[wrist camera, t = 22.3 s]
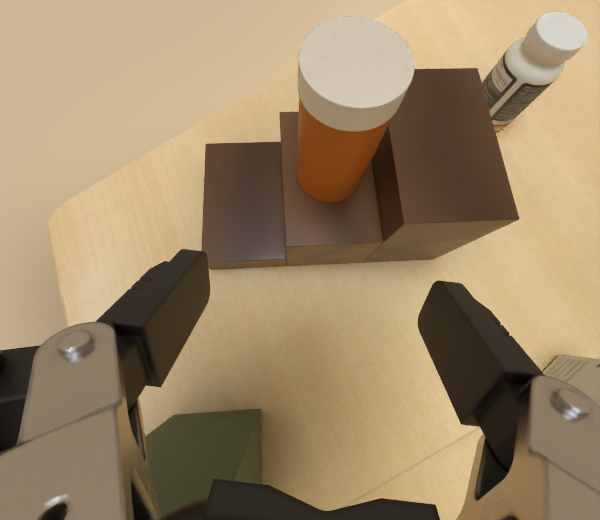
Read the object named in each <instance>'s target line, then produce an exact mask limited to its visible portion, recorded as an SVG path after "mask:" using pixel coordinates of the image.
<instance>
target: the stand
mask: <svg viewBox="0 0 600 520" xmlns="http://www.w3.org/2000/svg"><path fill="white" fill-rule="evenodd" d="M145 438H146V445H147V451H148V457H149V463H150V469H151V473H152V477H153V481H154V485H155V489H156V493H157V498H158V503H159V508H160V514H161V517H162V516H163V515H165V514H166V513H168V512H169V511H171V510H173V509H175V508H177V507H179V506H181V505H182V504H184V503H187V502H189V501H192V500H195V499H197V498H200V497H204V496H208V495H209V493H210V489H211V486H212V482H213V479H221V480H229V481H238V482H246V483H255V484H262V450H261V409H256V410H241V411H227V412H213V413H199V414H184V415H173V416H172V417H171V418H169V419H168V420H167V421H165V422H164V423H163V424H161V425H160V426H159V427H157V428H156V429H155V430H154V431H152V432H151V433H150V434H148V435H147V436H146V437H145Z"/></svg>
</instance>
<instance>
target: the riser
mask: <svg viewBox="0 0 600 520" xmlns="http://www.w3.org/2000/svg"><path fill="white" fill-rule="evenodd" d="M298 121H299V112H280V132H281V142H257V143H218V144H206V151H205V178H204V204H203V230H202V251H203V252H206V254H207V258H208V268H210V269H231V268H253V267H274V266H296V265H317V264H339V263H360V262H382V261H404V260H425V259H435V258H437V257H439V256H442V255H444V254H446V253H448V252H450V251H452V250H454V249H457V248H459V247H461V246H463V245H465V244H467V243H469V242H472V241H474V240H476V239H478V238H480V237H482V236H484V235H487V234H489V233H491V232H493V231H495V230H497V229H499V228H501V227H504V226H506V225H508V224H510V223H512V222H514V221H516V220H519V216H518V213H517V209H516V205H515V202H514V198H513V195H512V191H511V187H510V184H509V180H508V176H507V173H506V169H505V166H504V162H503V158H502V155H501V151H500V148H499V144H498V140H497V137H496V133H495V130H494V126H493V122H492V119H491V115H490V112H489V108H488V104H487V101H486V97H485V93H484V90H483V86H482V83H481V79H480V75H479V72H478V69H477V68H462V69H414V75H413V79H412V81H411V84H410V86H409V88H408V90H407V92H406V94H405V96H404V98H403V100H402V102H401V104H400V106H399V108H398V110H397V111H396V113H395V114H394V115H393V116H392V118H391V120H390V122H389V125H388V127H387V129H386V131H385V133H384V135H383V137H382V139H381V141H380V143H379V145H378V147H377V149H376V151H375V154H374V156H373V158H372V160H371V162H370V164H369V166H368V168H367V170H366V172H365V174H364V176H363V178H362V181H361V183H360V185H359V187H358V188H357V190H356V191H355V193H354V194H352V195H351V196H350V197H349V198H347V199H345V200H342V201H339V202H333V203H327V202H322V201H318V200H316V199H314V198H312V197H310V196H309V195H308V194H307V193H306V192H305V191H304V190H303V189H302V188H301V186H300V184H299V182H298V178H297V151H298Z"/></svg>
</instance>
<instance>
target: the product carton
mask: <svg viewBox="0 0 600 520" xmlns="http://www.w3.org/2000/svg"><path fill="white" fill-rule="evenodd" d="M542 373H543V374H544V375H545V376H549V377H553V378H557V379H559V380H562V381H564V382H566V383H568V384H570V385H572V386H574V387H576V388H577V389H579V390H580V391H582V392H583V393H585V394H586V395H587V396H589V397H590V398H591V399H592V400H594V401H595V402H596V403H597V404H598V405H599V406H600V360H599V359H591V358H583V357H575V356H567V355H559V356H558V357H556V358H555V360H554V361H553V362H552V363H551V364H550V365H549V366H548V367H547V368H546V369H545V370H544V371H543V372H542Z"/></svg>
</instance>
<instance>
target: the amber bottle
mask: <svg viewBox="0 0 600 520" xmlns="http://www.w3.org/2000/svg"><path fill="white" fill-rule="evenodd" d="M413 75H414V58H413V55H412V52H411V50H410V47H409V46H408V44H407V43H406V41H405V40H404V39H403V38H402V37H401V36H400V35H399V34H398V33H397V32H396V31H394V30H393V29H392V28H390V27H388V26H387V25H385V24H383V23H380V22H378V21H375V20H372V19H368V18H363V17H341V18H335V19H331V20H329V21H326V22H324V23H322V24H320V25H318V26H317V27H315V28H314V29H313V30H312V31H311V32H310V33H309V34H308V35H307V36H306V38H305V39H304V41H303V43H302V45H301V47H300V51H299V62H298V92H299V121H298V151H297V178H298V182H299V184H300V186H301V188H302V189H303V190H304V191H305V192H306V193H307V194H308V195H309V196H310V197H312V198H314V199H316V200H318V201H322V202H327V203H333V202H339V201H342V200H345V199H347V198H349V197H350V196H351V195H352V194H354V193H355V191H356V190H357V188H358V187H359V185H360V183H361V181H362V178H363V176H364V174H365V172H366V170H367V168H368V166H369V164H370V162H371V160H372V158H373V156H374V154H375V151H376V149H377V147H378V145H379V143H380V141H381V139H382V137H383V135H384V133H385V131H386V129H387V127H388V125H389V122H390V120H391V118H392V116H393V115H394V114H395V113H396V111H397V110H398V108H399V106H400V104H401V102H402V100H403V98H404V96H405V94H406V92H407V90H408V88H409V86H410V84H411V81H412V79H413Z"/></svg>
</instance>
